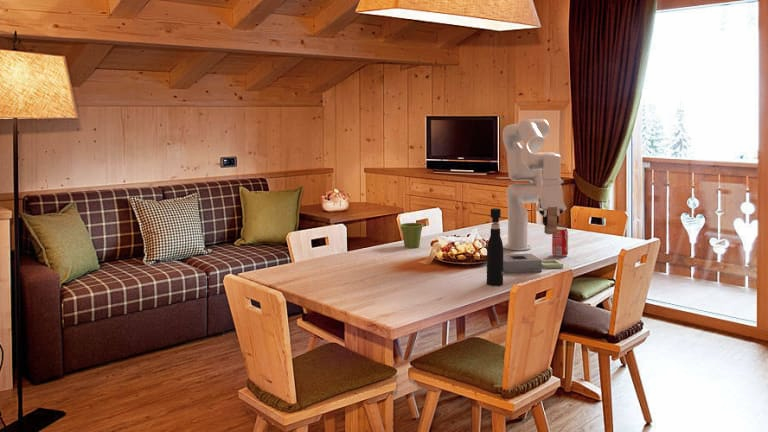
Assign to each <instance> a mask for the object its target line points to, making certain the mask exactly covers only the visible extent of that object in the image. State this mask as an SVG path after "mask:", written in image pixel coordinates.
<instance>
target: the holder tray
mask: <svg viewBox="0 0 768 432" xmlns="http://www.w3.org/2000/svg"><path fill="white" fill-rule="evenodd" d="M541 260H542V270H544V269H545V270H546V269H549V270H550V269H563V268H564V263H563V262H561V261H559V260H557V259H541Z"/></svg>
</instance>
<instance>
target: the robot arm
mask: <svg viewBox="0 0 768 432" xmlns="http://www.w3.org/2000/svg"><path fill="white" fill-rule="evenodd" d="M550 128H551V127H550V124H549V122H548V121H547V120H546V119H545V118H530V119H529V118H528V119H523V120H521V121H520V122H519V123H512V124H508V125H506V126H504V128H503V130H502V141H503V145H504V148H505V151H506V157H507V161H506V162H507V170H508V171H507V172H508V174H507V175H508V178H509V180H511V181H514V182H517V181H518V182H520V181H521V183H513V184H510V185H508V186H507V188H506V191H505V193H506V201H507V244H504V245H503V249H506V250H510V251H528V250H530V249H531V247H532V246H531V245H530V244H528V237H529V236H528V235H529V231H528V229H529V211H528V209H527V208H526V207H525V205H524V204H536V206H535V208H534V210H535V211H536V212H538V213H539V214H540V215H541V216H542V224H543V226H544V227H545V226H547V210H548V207H557V226H558V225H559V223H560V222H559V219H560V216H561V214H562V213H563V212H564V211H566V210H567V209H568V208H567V205H565V203H564V191H563V186H562V184H564V183H565V182H564V179H562V178H561V177H562V175H561V174H562V173H561V169H562V156H561V155H560V154H558V153H555V152H552V151H549V152H548V151H547V152H545V151H544V152H542V151H541V152H539V151H538V150H539V149H542V146H543V145H544V142H545V140H544V139H545V138H547V137H548V136H549V134H550V132H551V129H550ZM520 142H521V143H524V144H523V145H521V144H520ZM536 151H538V152H536ZM523 181H530V182H529V183H528V182H527V183H525V182H524V183H523ZM541 209H542V210H541Z"/></svg>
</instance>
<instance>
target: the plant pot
mask: <svg viewBox="0 0 768 432" xmlns="http://www.w3.org/2000/svg"><path fill="white" fill-rule="evenodd" d="M399 226H400V229H401V233H402V239H403V244H404V245H403V246H404V248H406V249H407V248H410V249H417V248H419V247H420V244H421V238H422V230H423V226H424V224H423V223H420V222H406V223H405V222H404V223H400V224H399Z"/></svg>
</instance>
